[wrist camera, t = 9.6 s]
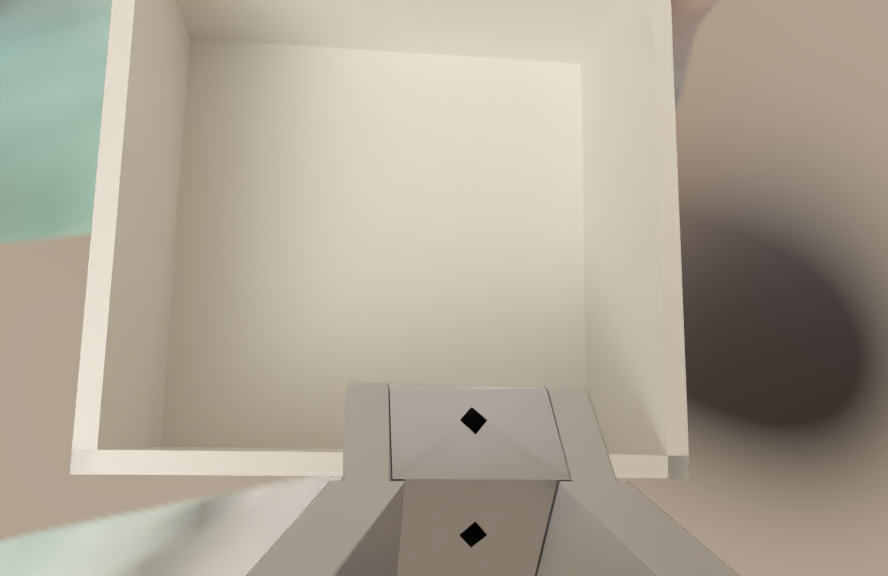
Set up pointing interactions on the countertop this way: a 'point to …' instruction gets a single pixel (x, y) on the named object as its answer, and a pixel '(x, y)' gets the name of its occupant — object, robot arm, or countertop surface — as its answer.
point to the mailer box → (378, 224)
